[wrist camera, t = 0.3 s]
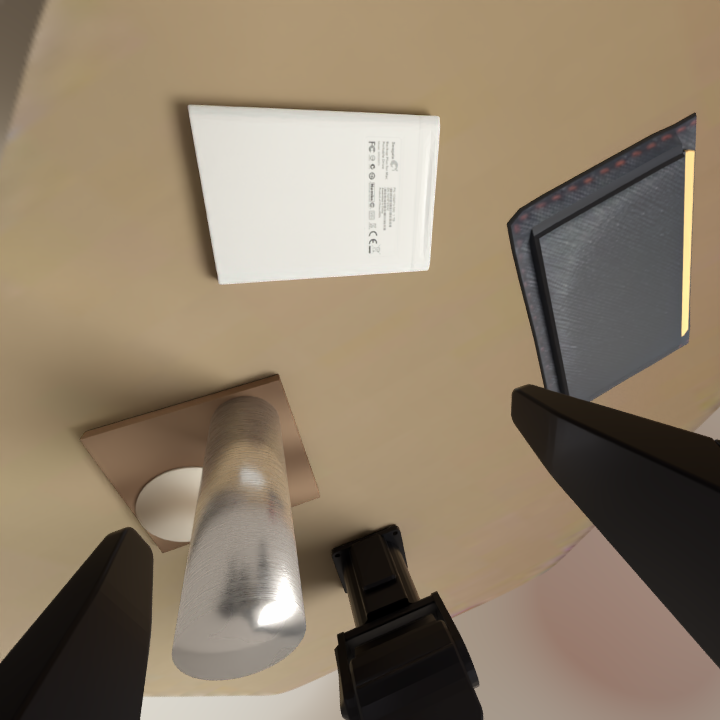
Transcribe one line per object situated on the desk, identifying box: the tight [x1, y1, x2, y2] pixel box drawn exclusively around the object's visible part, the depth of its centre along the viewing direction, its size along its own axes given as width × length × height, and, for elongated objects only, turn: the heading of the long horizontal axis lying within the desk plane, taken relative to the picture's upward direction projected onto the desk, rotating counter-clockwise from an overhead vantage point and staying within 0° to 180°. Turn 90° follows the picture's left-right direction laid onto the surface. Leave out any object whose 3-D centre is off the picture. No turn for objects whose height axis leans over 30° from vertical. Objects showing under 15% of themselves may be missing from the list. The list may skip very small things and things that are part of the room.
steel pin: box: [172, 396, 306, 680], centre depth 18 cm, size 4×4×13 cm
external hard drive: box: [188, 105, 440, 284], centre depth 20 cm, size 2×8×12 cm
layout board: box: [80, 374, 320, 553], centre depth 25 cm, size 11×12×1 cm
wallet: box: [507, 113, 696, 402], centre depth 28 cm, size 20×2×15 cm
